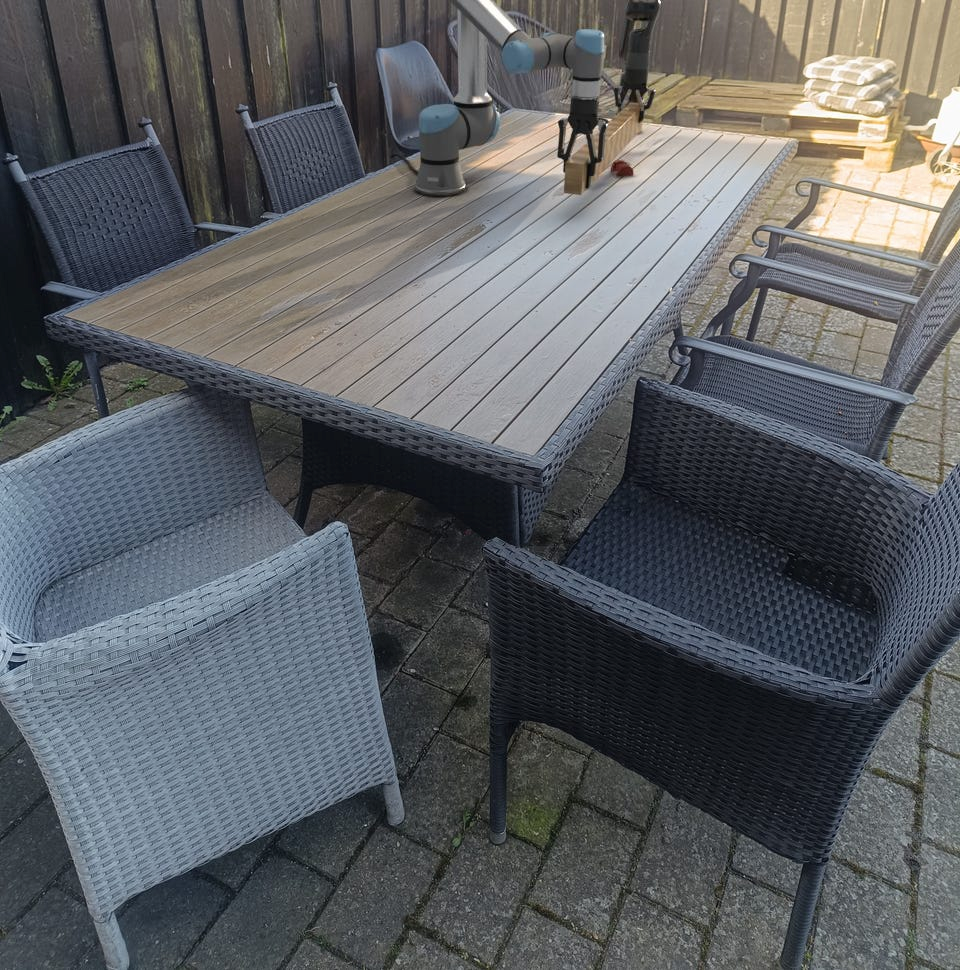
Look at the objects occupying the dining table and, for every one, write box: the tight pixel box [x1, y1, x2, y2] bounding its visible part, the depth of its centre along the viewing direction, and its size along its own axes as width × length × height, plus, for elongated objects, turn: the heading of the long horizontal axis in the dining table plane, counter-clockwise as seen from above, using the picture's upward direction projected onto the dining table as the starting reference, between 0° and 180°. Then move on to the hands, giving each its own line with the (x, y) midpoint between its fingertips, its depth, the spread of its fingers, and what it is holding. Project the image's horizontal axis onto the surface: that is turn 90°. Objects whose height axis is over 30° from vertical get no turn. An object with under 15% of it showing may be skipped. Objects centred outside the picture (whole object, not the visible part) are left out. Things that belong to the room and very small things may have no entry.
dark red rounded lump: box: [610, 159, 634, 178], centre depth 271 cm, size 6×4×8 cm
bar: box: [563, 102, 644, 196], centre depth 259 cm, size 78×5×8 cm, turn 159°
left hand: (578, 185), depth 236 cm, fingers closed on bar, 5 cm apart
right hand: (631, 121), depth 284 cm, fingers closed on bar, 5 cm apart
